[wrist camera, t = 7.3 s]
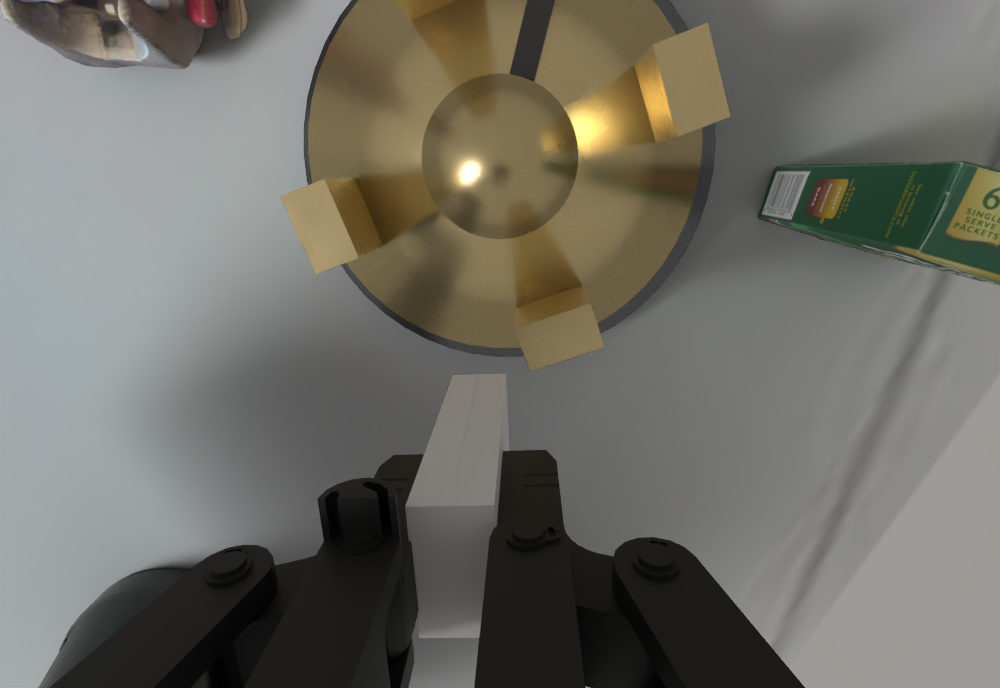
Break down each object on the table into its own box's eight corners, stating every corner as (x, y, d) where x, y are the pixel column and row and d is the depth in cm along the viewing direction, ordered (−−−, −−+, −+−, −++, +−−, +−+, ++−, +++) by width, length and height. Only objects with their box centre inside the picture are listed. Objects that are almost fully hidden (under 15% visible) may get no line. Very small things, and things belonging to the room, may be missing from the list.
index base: (722, 306, 29) (759, 332, 25) (379, 374, 32) (351, 410, 27) (674, -114, 24) (709, -185, 19) (267, 2, 26) (208, -36, 22)
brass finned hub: (623, -109, 22) (657, -217, 16) (721, 266, 26) (779, 295, 20) (273, 50, 25) (187, 9, 19) (413, 371, 29) (380, 425, 23)
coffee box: (745, 220, 28) (918, 257, 15) (769, 161, 27) (972, 151, 15) (897, 264, 28) (1189, 336, 16) (925, 207, 27) (1257, 235, 15)
